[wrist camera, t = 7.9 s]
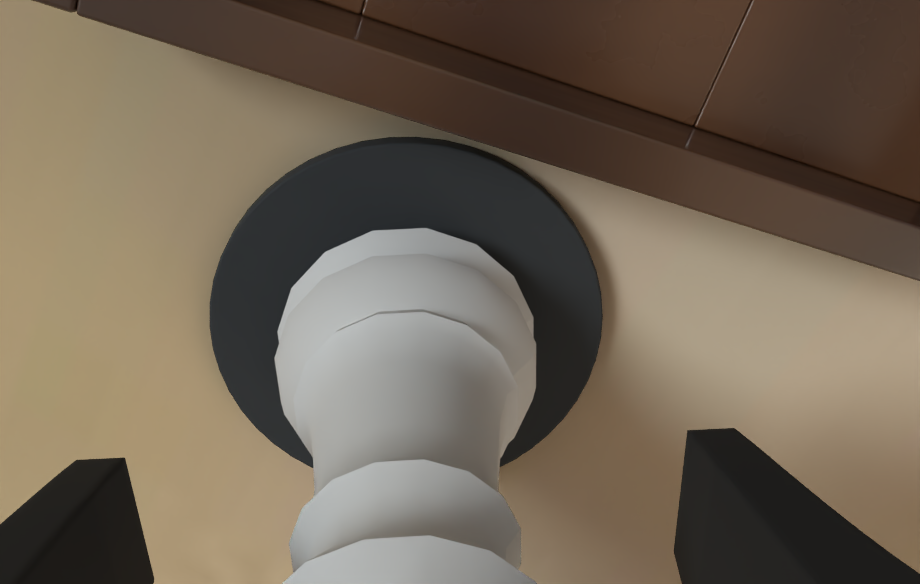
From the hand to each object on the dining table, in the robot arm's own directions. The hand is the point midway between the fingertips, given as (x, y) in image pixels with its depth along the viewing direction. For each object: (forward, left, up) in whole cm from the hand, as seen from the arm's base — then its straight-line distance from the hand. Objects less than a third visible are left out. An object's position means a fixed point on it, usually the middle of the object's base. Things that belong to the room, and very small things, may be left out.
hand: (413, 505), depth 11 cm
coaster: (0, 0, -5) cm, 5 cm away
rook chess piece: (0, 0, -5) cm, 5 cm away
